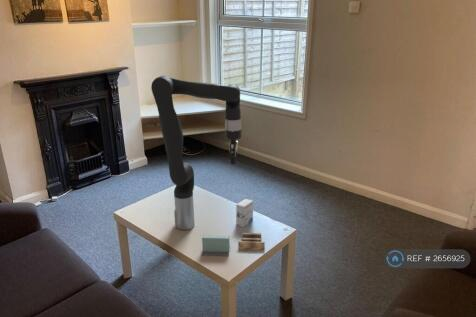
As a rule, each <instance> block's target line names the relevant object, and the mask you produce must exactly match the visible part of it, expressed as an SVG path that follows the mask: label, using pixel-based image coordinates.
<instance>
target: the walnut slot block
mask: <svg viewBox="0 0 476 317" xmlns="http://www.w3.org/2000/svg"><path fill="white" fill-rule="evenodd" d="M241 236H242V237H241V241H244V242H262V233H261V232H259V233H258V232H242V235H241Z"/></svg>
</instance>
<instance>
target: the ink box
mask: <svg viewBox="0 0 476 317" xmlns="http://www.w3.org/2000/svg"><path fill="white" fill-rule="evenodd" d="M235 212H236V214H235V216H236V217H235V219H236V220H235V222H236V223H235V225H237V226H240V227H242V228H244V227H245V226H247V225H249V224H250V223H252V221H253V220H254V201H253V200H252V199H248V198H244V199H243V200H241V201H240V202H238V203H236V211H235Z"/></svg>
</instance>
